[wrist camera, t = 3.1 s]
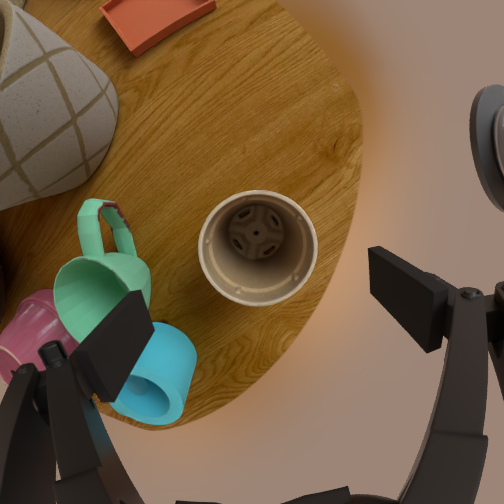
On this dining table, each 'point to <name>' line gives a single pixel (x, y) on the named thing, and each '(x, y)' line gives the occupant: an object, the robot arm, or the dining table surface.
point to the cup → (159, 378)
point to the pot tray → (151, 19)
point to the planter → (48, 111)
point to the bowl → (2, 294)
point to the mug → (98, 271)
